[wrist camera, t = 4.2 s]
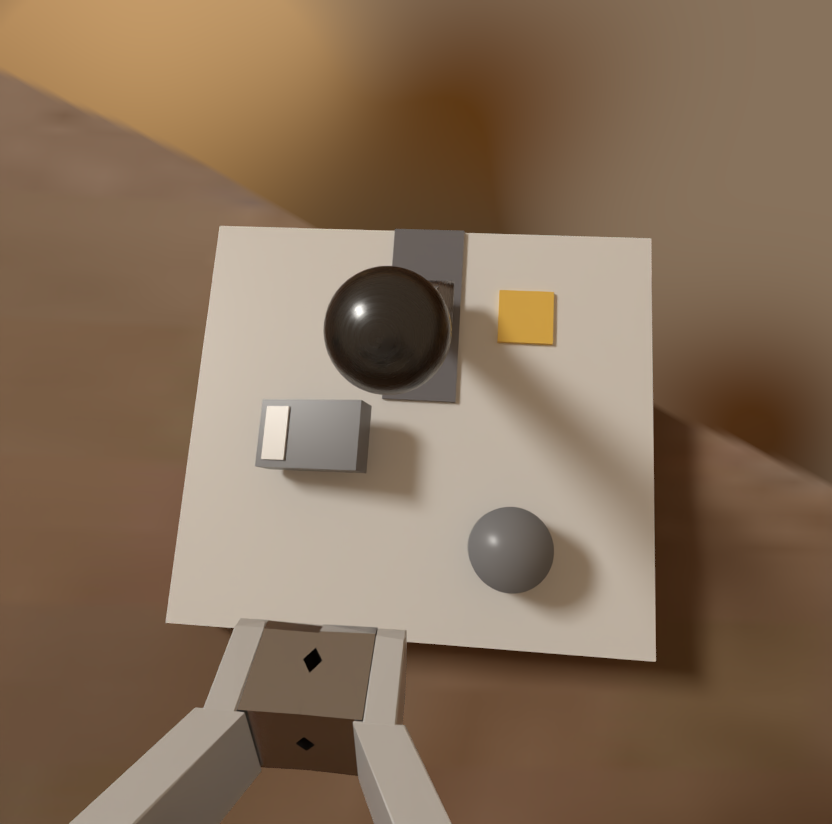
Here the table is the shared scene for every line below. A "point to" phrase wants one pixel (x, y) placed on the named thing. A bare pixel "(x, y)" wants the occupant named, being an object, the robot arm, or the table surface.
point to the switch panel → (431, 445)
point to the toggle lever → (389, 329)
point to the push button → (510, 550)
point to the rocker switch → (314, 435)
